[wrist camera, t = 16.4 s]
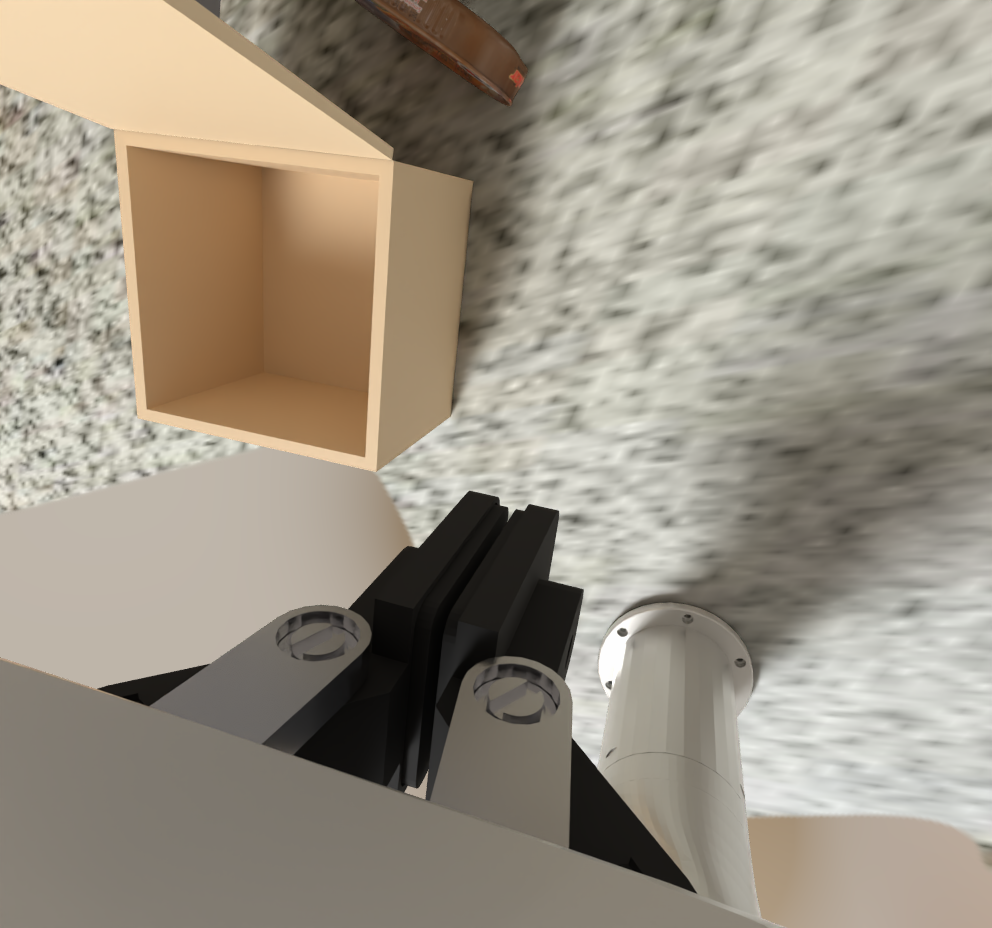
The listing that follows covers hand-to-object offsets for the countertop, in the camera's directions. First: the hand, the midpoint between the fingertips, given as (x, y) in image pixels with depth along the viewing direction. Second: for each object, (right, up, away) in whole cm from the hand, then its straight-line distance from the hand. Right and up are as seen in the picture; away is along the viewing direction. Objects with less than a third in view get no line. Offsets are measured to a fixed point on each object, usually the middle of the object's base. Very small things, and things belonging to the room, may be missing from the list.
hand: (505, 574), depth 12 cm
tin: (-4, +32, +33) cm, 46 cm away
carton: (-11, +16, +41) cm, 45 cm away
